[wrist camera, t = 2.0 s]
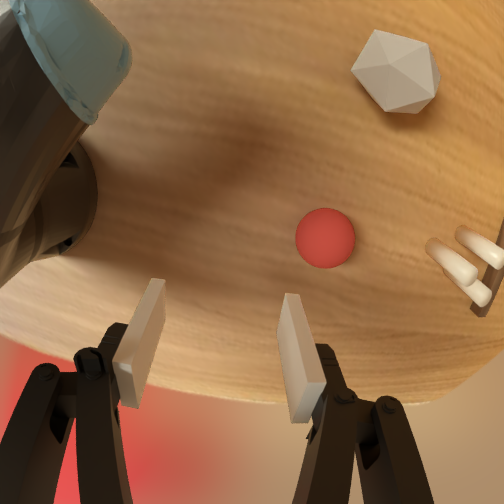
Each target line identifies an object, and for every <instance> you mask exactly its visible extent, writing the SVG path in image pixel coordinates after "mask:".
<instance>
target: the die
mask: <svg viewBox="0 0 504 504" xmlns="http://www.w3.org/2000/svg"><path fill="white" fill-rule="evenodd" d="M350 71H351V72H352V73H353V74H354V76H355V77H356V78H357V79H358V81H359V82H360V83H361V84H362V86H363V87H364V88H365V90H366V91H367V92H368V94H369V95H370V96H371V98H372V99H373V100H374V101H375V102H376V103H377V104H378V105H379V106H380V107H381V108H382V109H383V110H384V111H385V112H399V113H413V114H418V113H419V112H420V111H421V110H422V109H423V108H424V107H425V106H426V105H427V104H428V103H429V102H430V101H431V100H432V99H433V98H434V97H435V94H436V91H437V88H438V85H439V82H440V79H441V75H440V72H439V70H438V67H437V65H436V62H435V60H434V57H433V55H432V52H431V50H430V48H429V45H428V44H427V43H424V42H421V41H417V40H414V39H411V38H407V37H404V36H400V35H396V34H392V33H388V32H384V31H380V30H376V29H375V30H374V31H373V33H372V35H371V36H370V38H369V40H368V41H367V43H366V45H365V47H364V48H363V50H362V52H361V53H360V55H359V57H358V58H357V60H356V62H355V63H354V65H353V67H352V69H351V70H350Z"/></svg>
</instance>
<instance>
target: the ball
mask: <svg viewBox="0 0 504 504" xmlns="http://www.w3.org/2000/svg"><path fill="white" fill-rule="evenodd" d="M354 244H355V233H354V229H353V226H352V224H351V222H350V221H349V220H348V218H347V217H346V216H345V215H343V214H342V213H340V212H339V211H337V210H334V209H330V208H321V209H317V210H314V211H312V212H310V213H308V214H307V215H306V216H305V217H304V218H303V219H302V220H301V221H300V223H299V225H298V227H297V230H296V246H297V249H298V251H299V253H300V255H301V256H302V258H303V259H304V260H305V261H306V262H308V263H309V264H311V265H313V266H315V267H318V268H333V267H336V266H338V265H340V264H342V263H343V262H344V261H346V260H347V258H348V257H349V256H350V254H351V253H352V251H353V248H354Z"/></svg>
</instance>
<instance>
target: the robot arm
mask: <svg viewBox="0 0 504 504" xmlns="http://www.w3.org/2000/svg"><path fill="white" fill-rule="evenodd" d="M131 64H132V50H131V47H130V45H129V43H128V41H127V40H126V39H125V37H124V36H123V35H122V34H121V33H120V32H119V31H118V30H117V29H116V28H115V27H114V26H113V25H112V23H111V22H110V21H109V20H108V19H107V18H106V17H105V16H104V15H103V14H102V13H101V12H100V11H99V10H98V9H97V8H96V7H95V6H94V5H93V4H92V3H91V2H90V1H89V0H0V288H1V287H2V286H4V285H5V284H6V283H7V282H8V281H9V280H10V279H11V278H12V277H13V276H15V275H16V274H17V273H18V272H19V271H20V270H21V269H23V268H24V267H25V266H26V265H27V264H28V263H30V262H32V261H37V260H41V259H46V258H51V257H55V256H58V255H61V254H63V253H65V252H66V251H68V250H69V249H71V248H72V247H73V246H74V245H75V244H77V243H78V242H79V241H80V240H81V239H82V238H83V237H84V236H85V234H86V233H87V231H88V230H89V228H90V226H91V224H92V221H93V219H94V215H95V211H96V206H97V184H96V178H95V174H94V170H93V167H92V164H91V162H90V160H89V158H88V156H87V154H86V152H85V151H84V149H83V148H82V146H81V145H80V144H79V143H78V142H77V141H78V140H79V138H80V137H81V136H82V134H83V133H84V132H85V130H86V129H87V128H88V126H89V125H93V124H94V123H95V122H96V120H97V118H98V113H99V111H100V110H101V108H102V107H103V106H104V104H105V103H106V101H107V100H108V99H109V97H110V96H111V95H112V94H113V92H114V91H115V90H116V89H117V87H118V86H119V85H120V84H121V83H122V81H123V80H124V79H125V77H126V76H127V74H128V72H129V70H130V68H131ZM164 323H165V279H157V278H151V280H150V282H149V284H148V286H147V288H146V290H145V292H144V294H143V296H142V298H141V300H140V302H139V304H138V306H137V308H136V310H135V312H134V315H133V317H132V319H131V321H130V323H129V325H128V324H122V323H117V322H115V323H114V324H113V325H111V326H110V327H109V328H108V329H107V331H106V333H105V335H104V337H103V338H102V340H101V342H100V344H99V346H98V348H93V347H88V348H83V349H81V350H79V351H78V352H77V353H76V354H75V356H74V358H73V359H74V363H75V366H76V369H77V372H60V371H59V368H58V367H57V366H56V365H54V364H51V363H43V364H40V365H38V366H37V367H35V369H34V370H33V371H32V373H31V375H30V377H29V379H28V381H27V383H26V386H25V388H24V389H23V392H22V394H21V396H20V398H19V400H18V402H17V405H16V407H15V409H14V411H13V414H12V416H11V418H10V421H9V423H8V425H7V428H6V431H5V433H4V435H3V438H2V441H1V443H0V504H53V503H54V497H55V492H56V488H57V483H58V479H59V474H60V469H61V466H62V461H63V457H64V454H65V450H66V446H67V442H68V439H69V435H70V432H71V428H72V425H73V421H74V418H76V452H77V470H78V483H79V493H80V502H81V504H133V501H132V497H131V492H130V486H129V481H128V476H127V470H126V464H125V458H124V451H123V445H122V437H121V429H120V420H119V411H118V407H117V405H118V402H119V400H121V404H122V405H123V406H127V407H132V408H137V409H138V408H139V405H140V401H141V398H142V395H143V391H144V387H145V384H146V381H147V378H148V374H149V371H150V368H151V364H152V361H153V358H154V354H155V351H156V348H157V345H158V342H159V339H160V335H161V332H162V329H163V326H164ZM276 334H277V340H278V346H279V352H280V358H281V364H282V370H283V376H284V382H285V388H286V394H287V401H288V407H289V412H290V419H291V423H308V422H309V420H310V418H311V416H312V420H313V426H312V428H311V430H310V432H309V434H308V435H307V437H306V439H308V443H307V448H306V452H305V456H304V460H303V464H302V468H301V472H300V476H299V480H298V484H297V488H296V491H295V495H294V499H293V502H292V504H348V501H349V494H350V487H351V480H352V471H353V462H354V453H355V454H356V460H357V465H358V470H359V476H360V482H361V487H362V494H363V500H364V504H434V501H433V497H432V494H431V490H430V487H429V484H428V481H427V477H426V473H425V470H424V467H423V464H422V461H421V457H420V455H419V451H418V449H417V445H416V442H415V439H414V437H413V434H412V431H411V428H410V425H409V422H408V419H407V417H406V414H405V411H404V408H403V406H402V404H401V403H400V401H398V400H397V399H396V398H394V397H392V396H381V397H380V398H378V399H377V401H376V402H372V401H367V400H362V399H359V398H358V397H357V395H356V394H355V392H354V391H352V390H351V389H349V388H347V386H346V383H345V380H344V378H343V375H342V372H341V369H340V367H339V364H338V361H337V360H336V359H337V358H336V356H335V353H334V351H333V350H332V349H331V347H330V346H329V345H328V344H315V343H314V340H313V336H312V333H311V330H310V327H309V324H308V321H307V318H306V314H305V311H304V308H303V305H302V302H301V299H300V296H299V294H291V293H285V297H284V302H283V306H282V310H281V315H280V319H279V323H278V327H277V332H276Z"/></svg>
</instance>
